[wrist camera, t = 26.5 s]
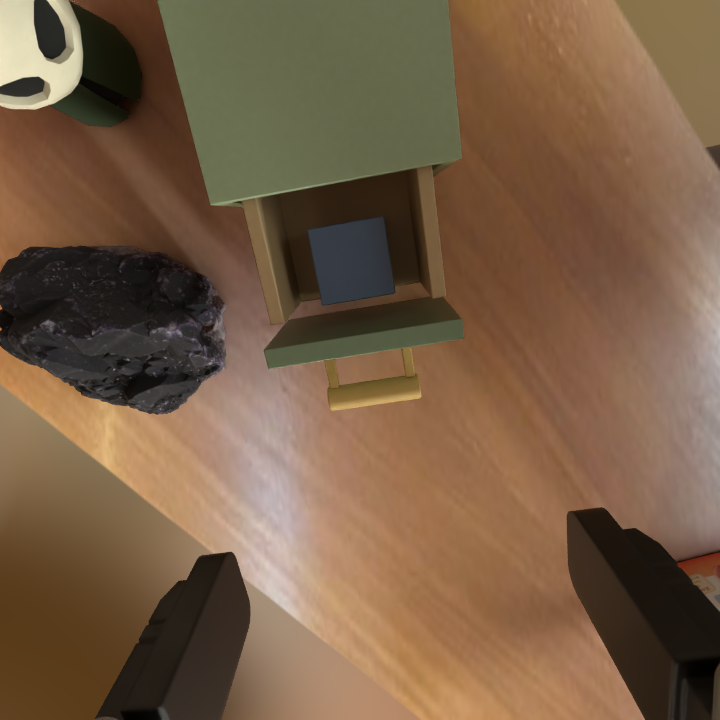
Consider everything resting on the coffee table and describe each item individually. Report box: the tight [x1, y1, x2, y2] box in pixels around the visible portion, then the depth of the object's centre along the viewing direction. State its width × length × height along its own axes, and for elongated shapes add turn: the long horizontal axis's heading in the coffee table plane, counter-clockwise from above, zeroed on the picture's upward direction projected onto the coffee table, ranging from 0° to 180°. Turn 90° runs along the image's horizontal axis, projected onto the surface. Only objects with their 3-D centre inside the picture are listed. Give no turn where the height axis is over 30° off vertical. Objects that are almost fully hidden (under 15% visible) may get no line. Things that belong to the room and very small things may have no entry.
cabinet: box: [157, 0, 462, 207], centre depth 24 cm, size 15×13×10 cm
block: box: [307, 216, 395, 305], centre depth 28 cm, size 4×4×4 cm
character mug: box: [0, 0, 142, 127], centre depth 22 cm, size 11×7×13 cm, turn 140°
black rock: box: [0, 246, 226, 415], centre depth 30 cm, size 13×14×10 cm
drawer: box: [241, 165, 464, 411], centre depth 27 cm, size 18×11×8 cm, turn 10°
